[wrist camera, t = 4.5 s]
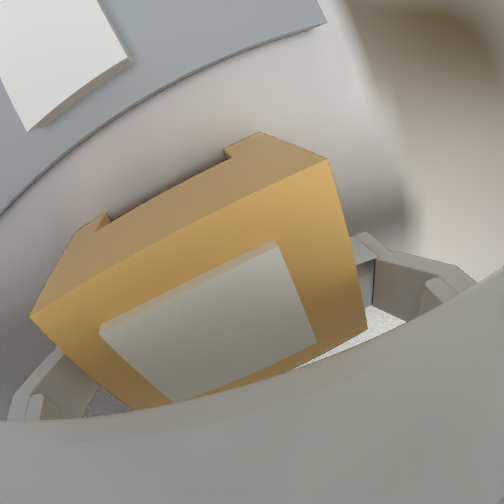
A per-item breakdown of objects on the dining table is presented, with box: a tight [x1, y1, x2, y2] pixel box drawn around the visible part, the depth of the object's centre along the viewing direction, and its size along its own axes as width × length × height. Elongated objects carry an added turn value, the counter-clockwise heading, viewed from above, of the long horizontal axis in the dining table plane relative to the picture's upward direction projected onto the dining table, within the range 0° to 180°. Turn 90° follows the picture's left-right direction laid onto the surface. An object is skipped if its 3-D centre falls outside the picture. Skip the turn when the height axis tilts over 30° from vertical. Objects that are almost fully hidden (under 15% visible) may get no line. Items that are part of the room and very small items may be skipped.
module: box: [29, 132, 368, 410], centre depth 8 cm, size 7×5×5 cm
